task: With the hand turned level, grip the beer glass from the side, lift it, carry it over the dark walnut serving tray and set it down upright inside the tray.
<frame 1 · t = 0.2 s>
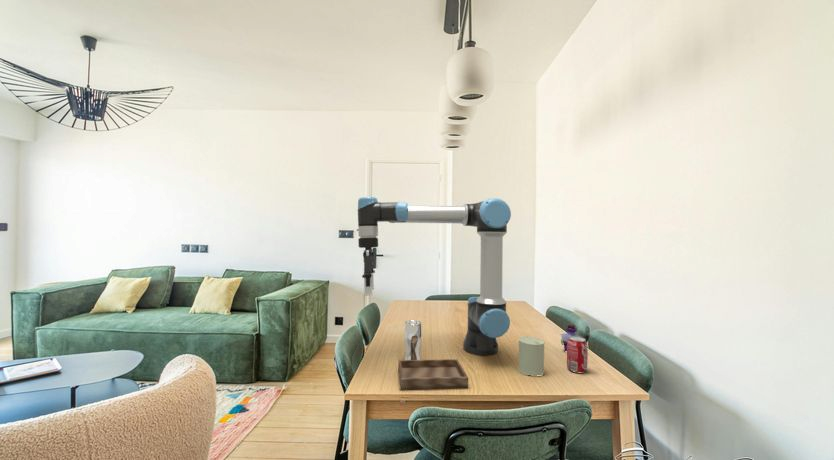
hand: (369, 292, 128), 27 cm above the table, tool pointing down, fingers open, 13 cm apart
can: (530, 372, 123), on the table
beer glass: (412, 360, 132), on the table
walnut tray: (431, 378, 116), on the table
soda can: (576, 371, 125), on the table
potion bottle: (571, 352, 145), on the table
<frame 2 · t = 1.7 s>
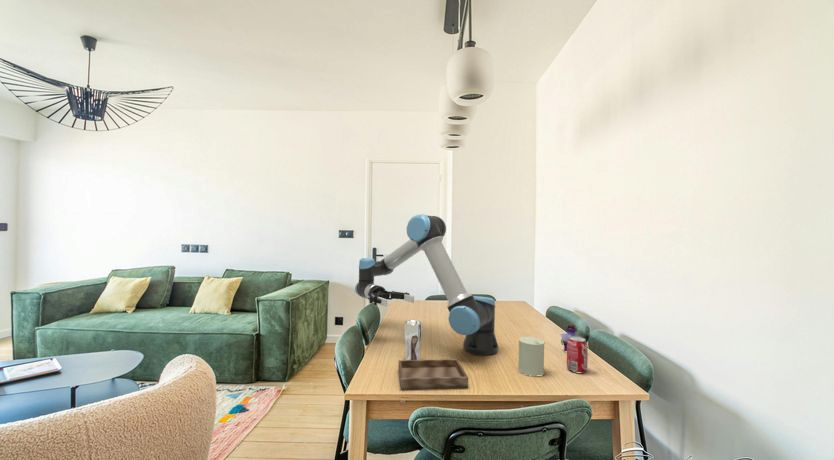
hand: (400, 301, 140), 22 cm above the table, tool horizontal, fingers open, 13 cm apart
nothing on the table moved.
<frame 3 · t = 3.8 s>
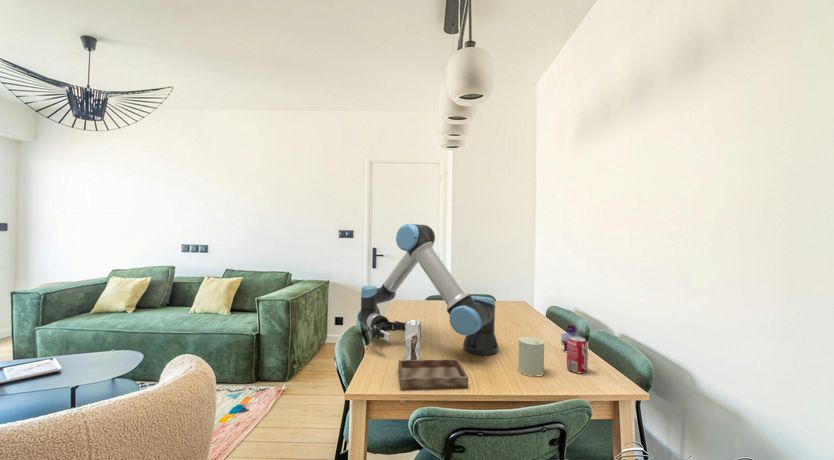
hand: (403, 334, 137), 8 cm above the table, tool horizontal, fingers open, 13 cm apart
nothing on the table moved.
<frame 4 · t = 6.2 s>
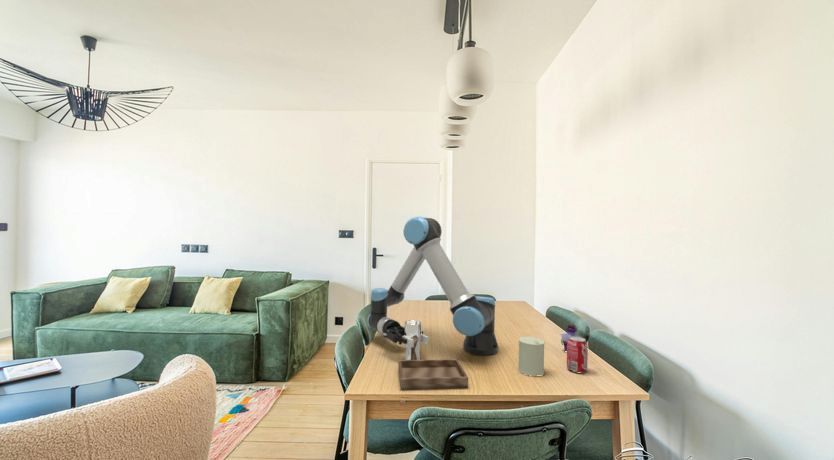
hand: (420, 342, 128), 9 cm above the table, tool horizontal, fingers closed on beer glass, 6 cm apart
beer glass: (412, 360, 132), on the table, touching gripper
everything else where it was.
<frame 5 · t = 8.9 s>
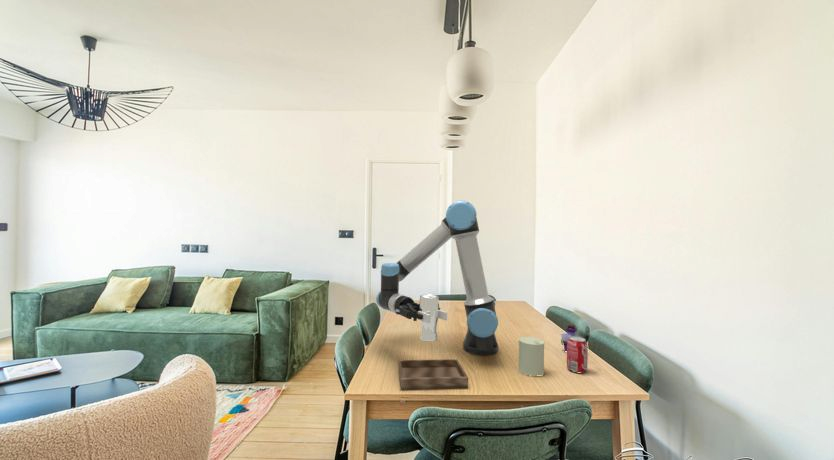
hand: (438, 317, 113), 22 cm above the table, tool horizontal, fingers closed on beer glass, 6 cm apart
beer glass: (428, 339, 117), point 13 cm above the table, touching gripper
everything else where it was.
when the fingers open (11 cm above the table, at t = 11.5 s): beer glass drops 1 cm, resting on walnut tray.
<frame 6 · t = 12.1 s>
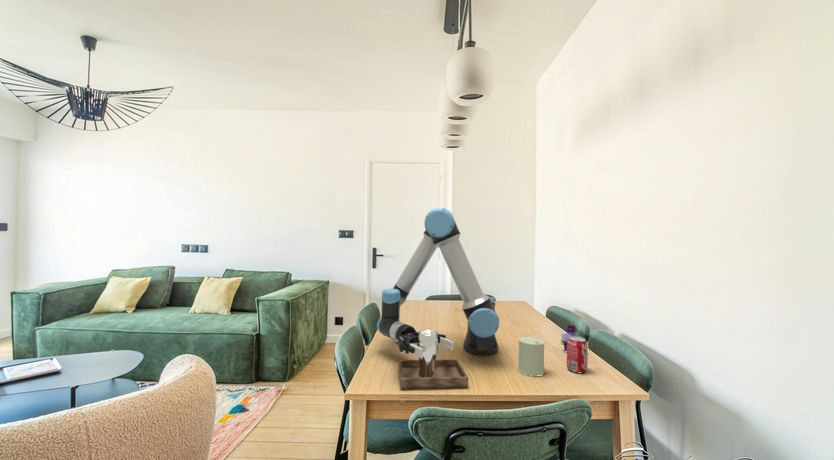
hand: (437, 349, 113), 11 cm above the table, tool horizontal, fingers open, 13 cm apart
beer glass: (426, 377, 115), point 1 cm above the table, touching walnut tray
everything else where it was.
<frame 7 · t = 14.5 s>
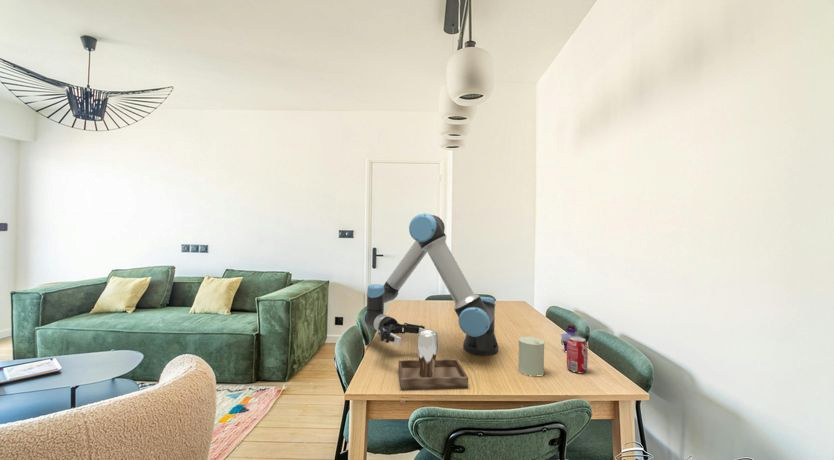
hand: (415, 338, 124), 11 cm above the table, tool horizontal, fingers open, 13 cm apart
nothing on the table moved.
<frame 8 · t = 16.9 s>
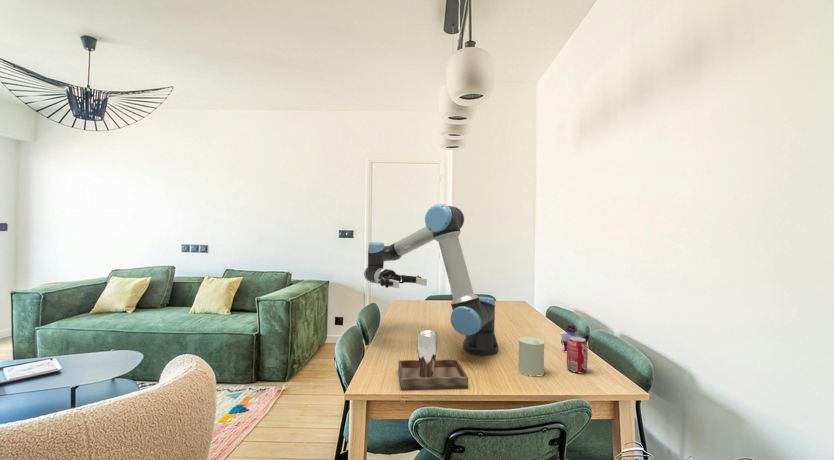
hand: (412, 283, 134), 30 cm above the table, tool horizontal, fingers open, 13 cm apart
nothing on the table moved.
at the end: beer glass inside the target area on the walnut tray (1.8 cm from its centre), point 0.8 cm above the walnut tray's base; beer glass tilted 0°; the gripper is holding nothing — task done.
